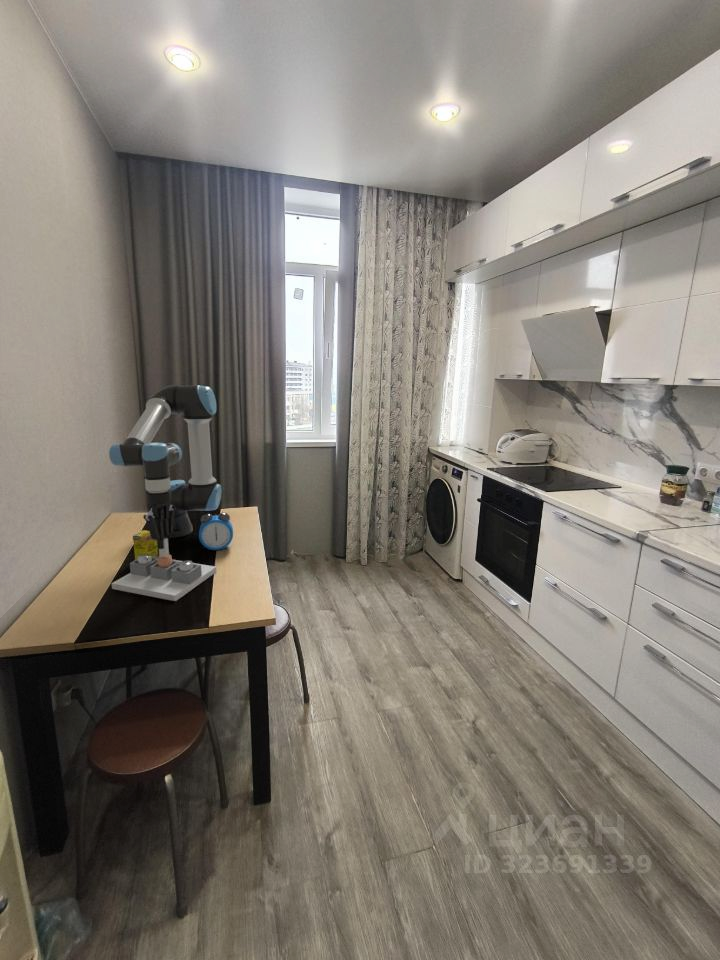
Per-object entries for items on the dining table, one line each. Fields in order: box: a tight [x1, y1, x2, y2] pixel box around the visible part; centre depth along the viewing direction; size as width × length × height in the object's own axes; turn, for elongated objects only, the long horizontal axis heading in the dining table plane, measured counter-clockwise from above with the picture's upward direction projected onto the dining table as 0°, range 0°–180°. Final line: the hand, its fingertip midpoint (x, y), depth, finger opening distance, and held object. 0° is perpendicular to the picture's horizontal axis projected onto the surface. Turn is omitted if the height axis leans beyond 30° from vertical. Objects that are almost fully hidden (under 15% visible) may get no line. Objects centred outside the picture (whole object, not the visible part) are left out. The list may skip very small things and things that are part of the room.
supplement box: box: [132, 529, 159, 561], centre depth 165 cm, size 6×6×11 cm
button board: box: [111, 557, 217, 602], centre depth 151 cm, size 22×25×6 cm
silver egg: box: [179, 560, 194, 572], centre depth 148 cm, size 4×4×5 cm
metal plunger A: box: [137, 554, 152, 565], centre depth 153 cm, size 4×4×5 cm
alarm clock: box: [198, 512, 234, 551], centre depth 178 cm, size 13×6×15 cm, turn 107°
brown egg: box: [158, 553, 173, 568], centre depth 150 cm, size 4×4×5 cm
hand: (164, 556), depth 149 cm, fingers closed
